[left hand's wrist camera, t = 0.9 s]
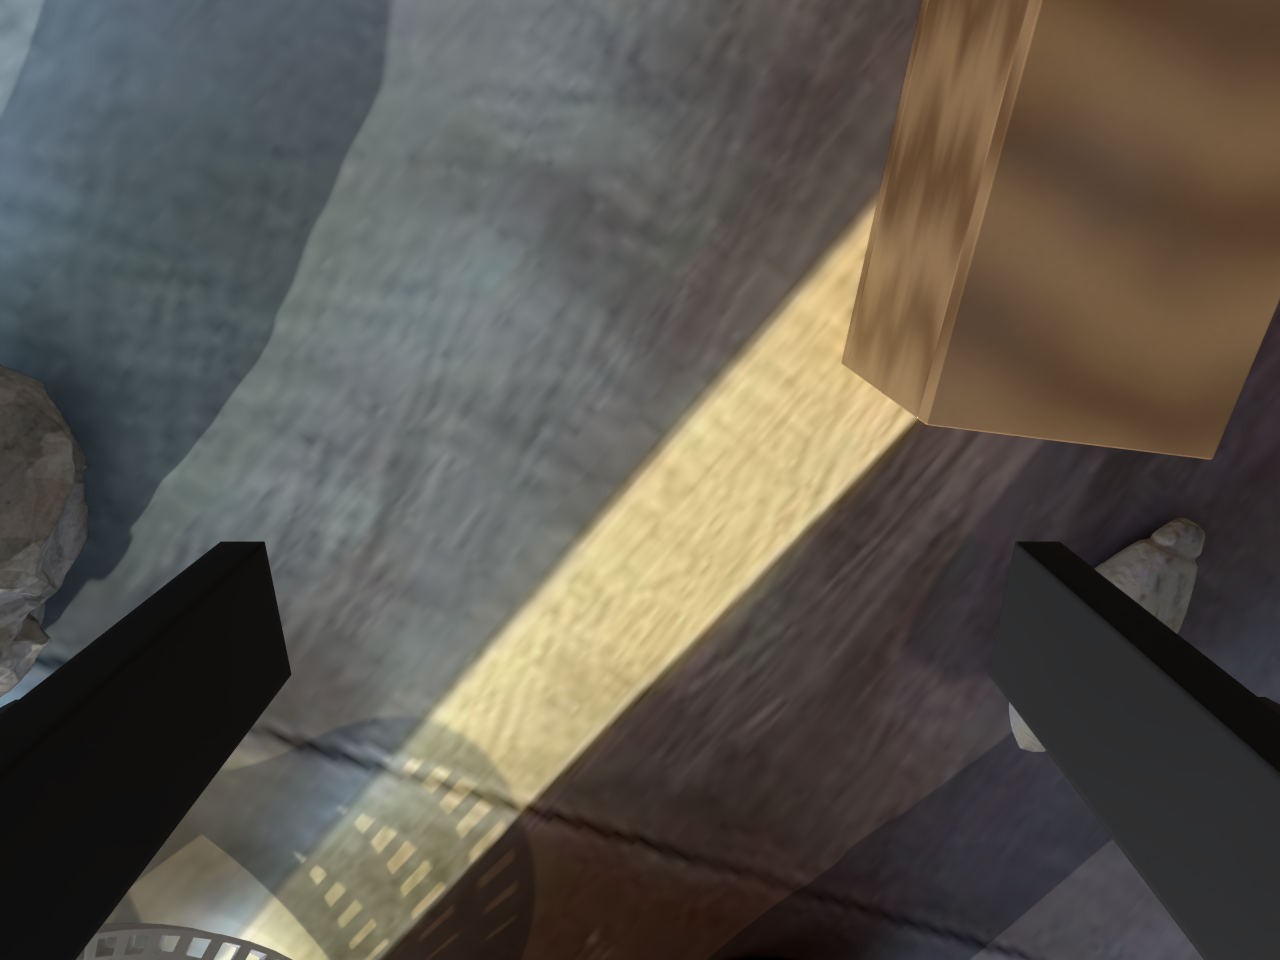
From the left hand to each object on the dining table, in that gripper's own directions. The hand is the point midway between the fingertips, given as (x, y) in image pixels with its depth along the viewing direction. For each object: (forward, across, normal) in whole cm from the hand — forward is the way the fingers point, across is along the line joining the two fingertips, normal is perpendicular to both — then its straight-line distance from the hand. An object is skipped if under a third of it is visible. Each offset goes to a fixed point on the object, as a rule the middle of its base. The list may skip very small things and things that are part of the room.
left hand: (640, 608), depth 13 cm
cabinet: (+25, -16, -7) cm, 31 cm away
